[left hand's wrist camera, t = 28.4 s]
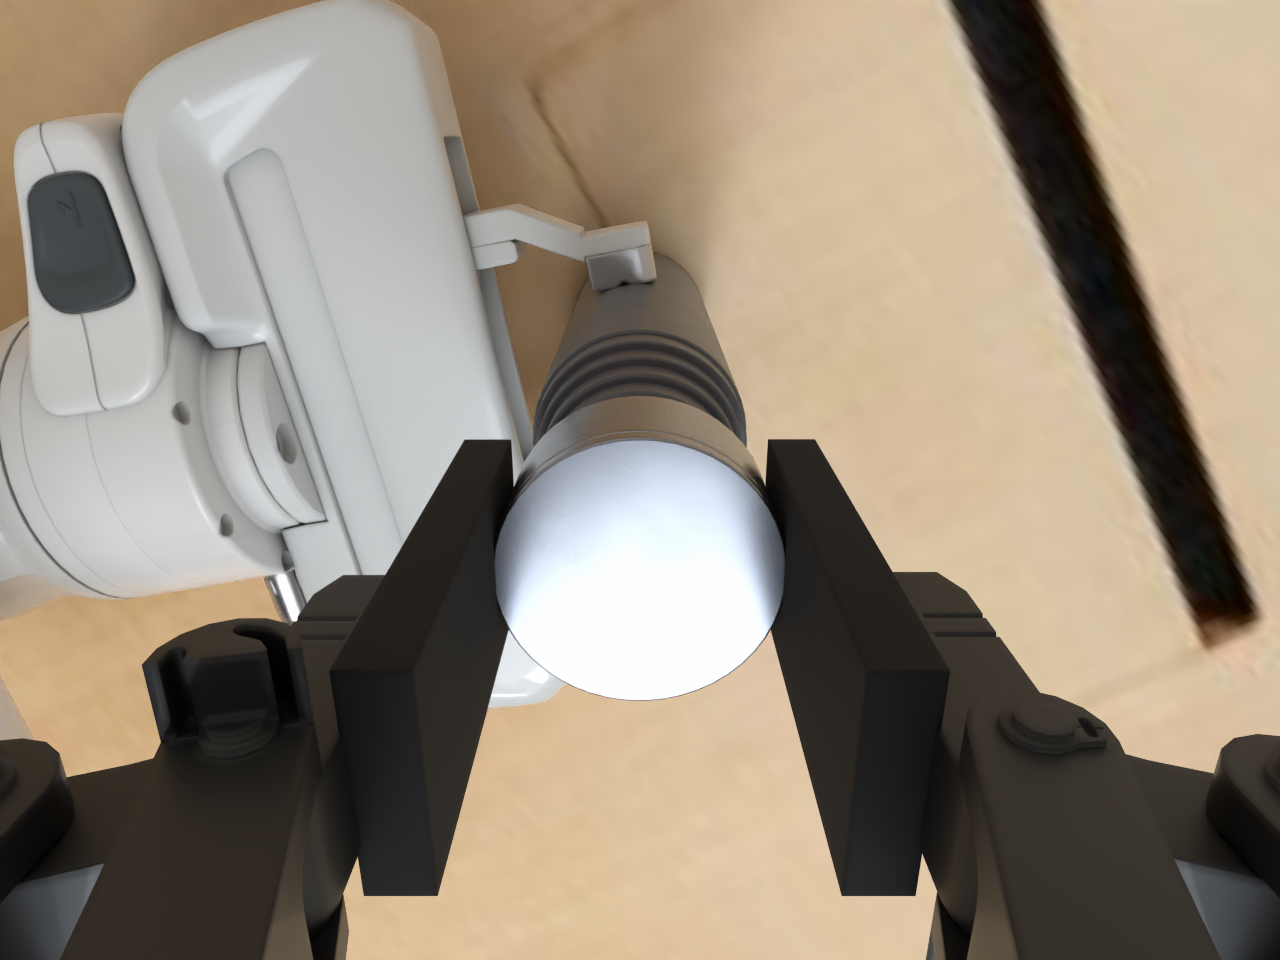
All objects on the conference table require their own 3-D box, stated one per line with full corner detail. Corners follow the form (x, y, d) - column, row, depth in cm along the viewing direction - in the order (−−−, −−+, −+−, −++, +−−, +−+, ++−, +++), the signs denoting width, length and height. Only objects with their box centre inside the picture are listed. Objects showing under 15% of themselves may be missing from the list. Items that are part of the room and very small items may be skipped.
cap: (559, 654, 15) (547, 729, 13) (474, 437, 14) (447, 485, 12) (793, 593, 15) (817, 662, 13) (731, 362, 13) (747, 400, 11)
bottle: (632, 223, 30) (621, 343, 12) (729, 308, 31) (849, 533, 13) (551, 322, 31) (433, 563, 13) (646, 401, 32) (655, 721, 14)
